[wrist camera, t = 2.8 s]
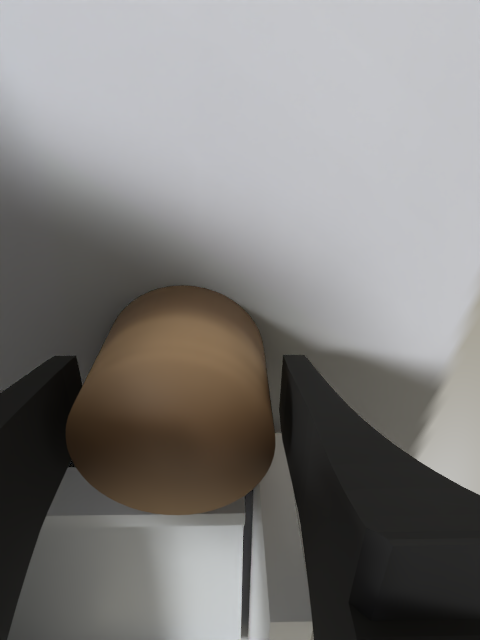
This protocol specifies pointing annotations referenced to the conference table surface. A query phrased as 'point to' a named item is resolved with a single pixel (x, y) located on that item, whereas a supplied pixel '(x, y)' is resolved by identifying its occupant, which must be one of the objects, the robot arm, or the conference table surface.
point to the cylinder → (175, 405)
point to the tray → (165, 569)
